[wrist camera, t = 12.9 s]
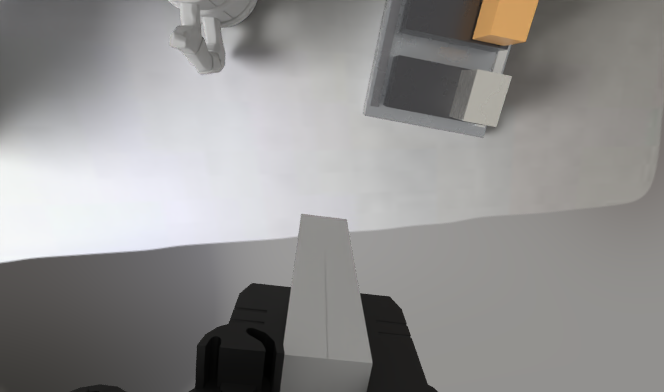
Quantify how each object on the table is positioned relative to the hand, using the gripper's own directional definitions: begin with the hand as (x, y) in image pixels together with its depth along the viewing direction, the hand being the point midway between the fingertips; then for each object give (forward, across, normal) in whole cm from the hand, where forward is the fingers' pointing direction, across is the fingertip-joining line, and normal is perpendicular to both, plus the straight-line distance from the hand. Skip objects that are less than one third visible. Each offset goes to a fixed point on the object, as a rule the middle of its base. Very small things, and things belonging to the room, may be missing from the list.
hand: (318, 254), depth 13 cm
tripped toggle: (+22, +13, +12) cm, 29 cm away
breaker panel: (+28, +10, +12) cm, 32 cm away
